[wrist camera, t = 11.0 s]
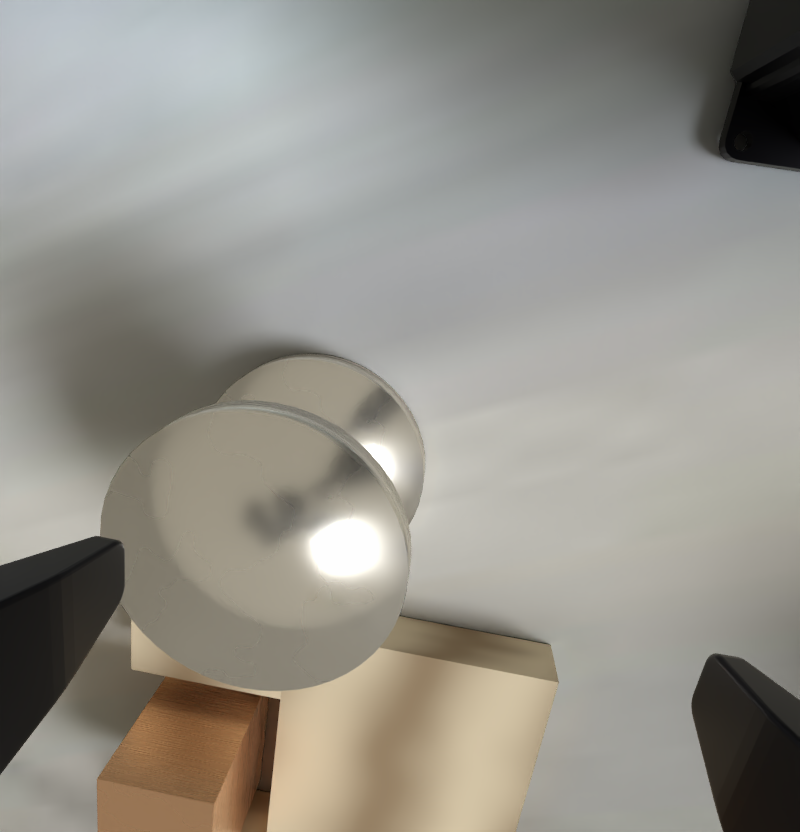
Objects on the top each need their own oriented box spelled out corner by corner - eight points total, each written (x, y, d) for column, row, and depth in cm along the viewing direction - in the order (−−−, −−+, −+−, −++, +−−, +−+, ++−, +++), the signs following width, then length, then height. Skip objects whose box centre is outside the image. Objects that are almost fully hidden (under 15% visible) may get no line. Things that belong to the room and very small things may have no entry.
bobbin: (442, 374, 20) (432, 443, 13) (407, 573, 22) (384, 716, 16) (217, 336, 20) (97, 385, 14) (207, 535, 23) (102, 659, 16)
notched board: (550, 644, 23) (558, 682, 21) (482, 889, 27) (484, 939, 25) (157, 569, 23) (131, 599, 22) (153, 819, 28) (130, 862, 26)
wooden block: (271, 672, 25) (214, 804, 19) (260, 777, 26) (205, 926, 21) (180, 653, 25) (97, 779, 19) (176, 759, 27) (98, 902, 21)
